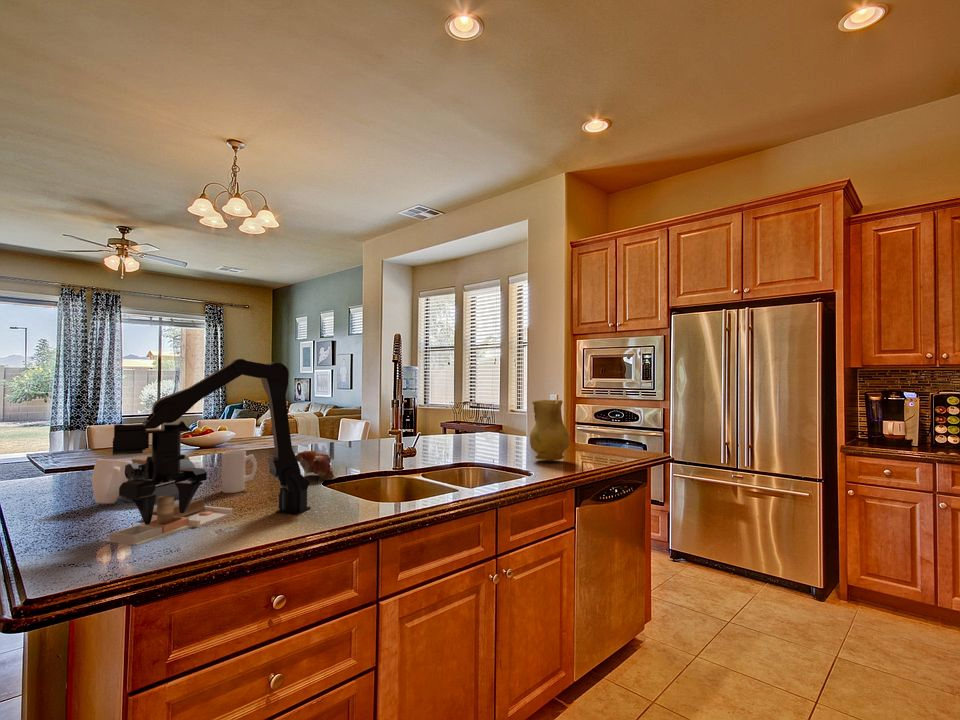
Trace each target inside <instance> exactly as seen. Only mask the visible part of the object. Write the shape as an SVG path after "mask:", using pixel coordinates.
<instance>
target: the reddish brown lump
mask: <svg viewBox="0 0 960 720" xmlns="http://www.w3.org/2000/svg"><path fill="white" fill-rule="evenodd" d="M295 456H296V459H297V461H298V463H299V466H301V467H302V470H303V471H304V473H305V474H309V473H310V474H312V473H314V474H315V475H318V476H319V477H320V478H321V479H323V480H325V481H330V480H334V479H337V478H338V476H336V475H335V474H334V469H333V467H332V465H331V461H332V460H331V457H330V455H328V454H327V453H326V454H325V453H317V451H316V450H302V451H300V452H298V453H297V454H295Z"/></svg>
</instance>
